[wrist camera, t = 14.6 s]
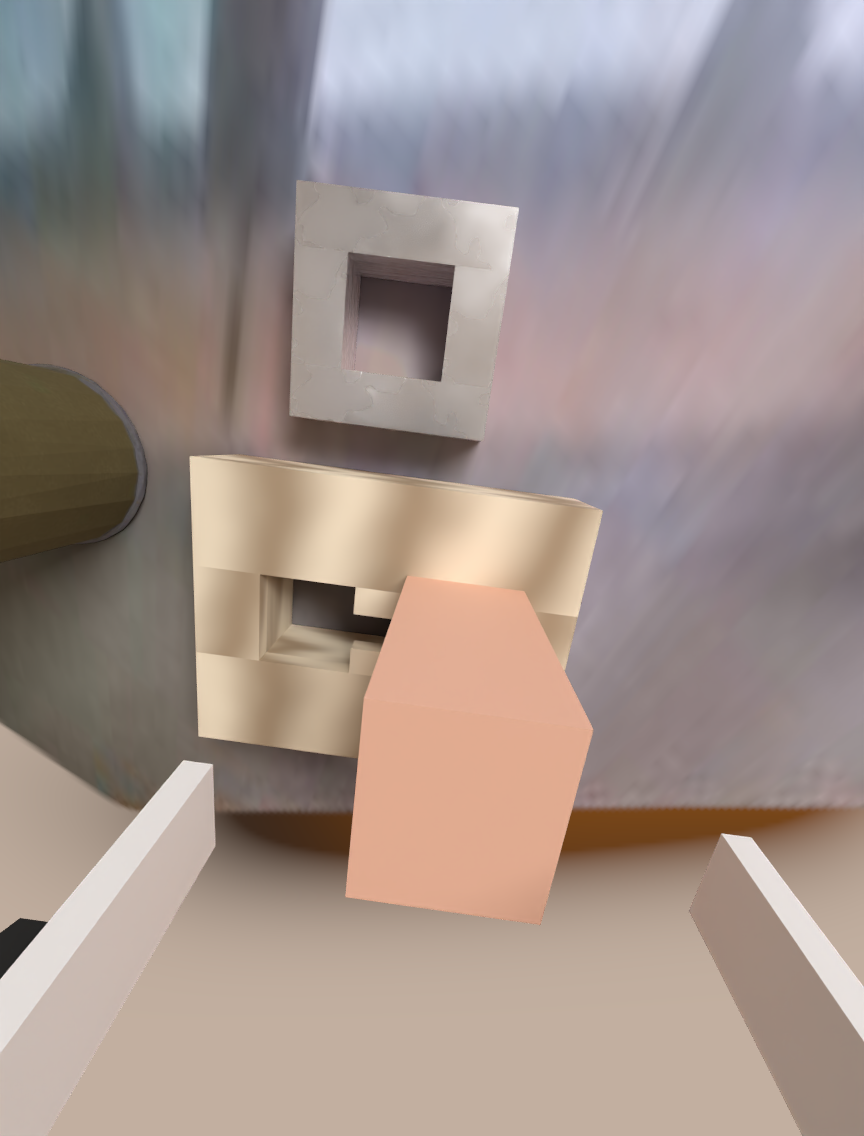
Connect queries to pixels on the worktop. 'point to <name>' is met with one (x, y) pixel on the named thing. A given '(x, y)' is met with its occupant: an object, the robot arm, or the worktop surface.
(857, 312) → the worktop surface
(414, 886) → the stud block
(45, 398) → the canister
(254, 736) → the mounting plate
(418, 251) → the frame
